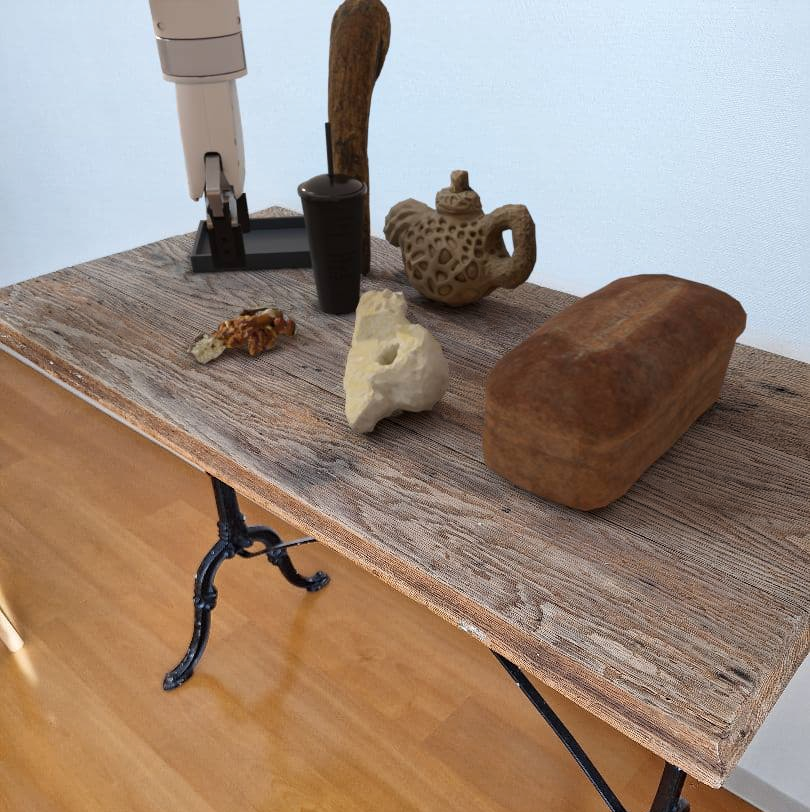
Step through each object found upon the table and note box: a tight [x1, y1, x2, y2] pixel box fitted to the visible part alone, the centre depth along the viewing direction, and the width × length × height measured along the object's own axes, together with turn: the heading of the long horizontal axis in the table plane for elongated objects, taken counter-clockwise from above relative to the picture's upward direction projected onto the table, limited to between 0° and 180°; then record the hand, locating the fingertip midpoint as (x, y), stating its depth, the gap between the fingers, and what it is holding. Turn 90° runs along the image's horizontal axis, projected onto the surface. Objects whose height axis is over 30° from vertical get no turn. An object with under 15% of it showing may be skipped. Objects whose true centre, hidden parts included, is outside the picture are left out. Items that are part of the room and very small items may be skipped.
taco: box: [186, 302, 298, 365], centre depth 89 cm, size 7×12×4 cm, turn 131°
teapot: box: [382, 169, 538, 308], centre depth 93 cm, size 21×12×15 cm, turn 49°
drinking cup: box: [296, 121, 367, 315], centre depth 91 cm, size 8×8×20 cm
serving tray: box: [190, 215, 313, 273], centre depth 111 cm, size 17×14×2 cm
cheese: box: [342, 287, 450, 434], centre depth 78 cm, size 15×7×15 cm
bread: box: [481, 273, 748, 512], centre depth 71 cm, size 14×28×12 cm, turn 141°
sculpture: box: [327, 0, 392, 277], centre depth 96 cm, size 7×7×30 cm
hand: (233, 249), depth 83 cm, fingers open, 9 cm apart
